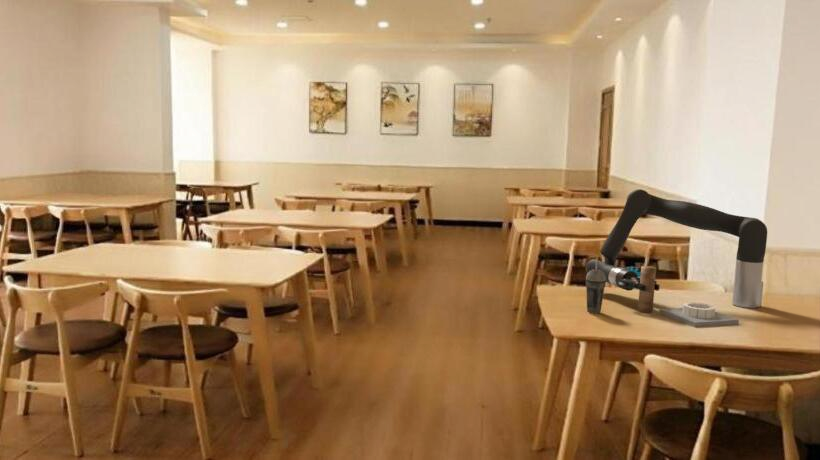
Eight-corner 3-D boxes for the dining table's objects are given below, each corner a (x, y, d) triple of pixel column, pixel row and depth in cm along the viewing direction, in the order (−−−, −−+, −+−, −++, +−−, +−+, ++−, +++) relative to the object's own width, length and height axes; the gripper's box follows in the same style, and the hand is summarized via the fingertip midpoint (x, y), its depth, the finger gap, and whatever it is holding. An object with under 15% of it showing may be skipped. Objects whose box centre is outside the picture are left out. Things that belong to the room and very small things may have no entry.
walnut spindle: (646, 308, 247) (650, 265, 245) (655, 312, 242) (659, 268, 240) (635, 309, 245) (638, 266, 243) (643, 313, 241) (647, 268, 238)
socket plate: (700, 311, 246) (702, 298, 246) (738, 324, 229) (739, 311, 229) (659, 313, 241) (660, 301, 240) (694, 327, 224) (695, 313, 223)
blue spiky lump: (628, 283, 284) (622, 264, 290) (621, 291, 288) (615, 271, 294) (651, 286, 287) (645, 267, 293) (644, 293, 291) (637, 274, 297)
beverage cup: (605, 311, 241) (609, 256, 239) (602, 315, 235) (606, 259, 232) (585, 308, 244) (588, 254, 242) (581, 313, 238) (584, 257, 235)
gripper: (607, 269, 253) (635, 278, 237) (640, 268, 258) (669, 277, 242) (606, 288, 254) (633, 299, 238) (638, 287, 259) (668, 297, 243)
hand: (651, 288), depth 240 cm, fingers closed on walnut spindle, 5 cm apart
